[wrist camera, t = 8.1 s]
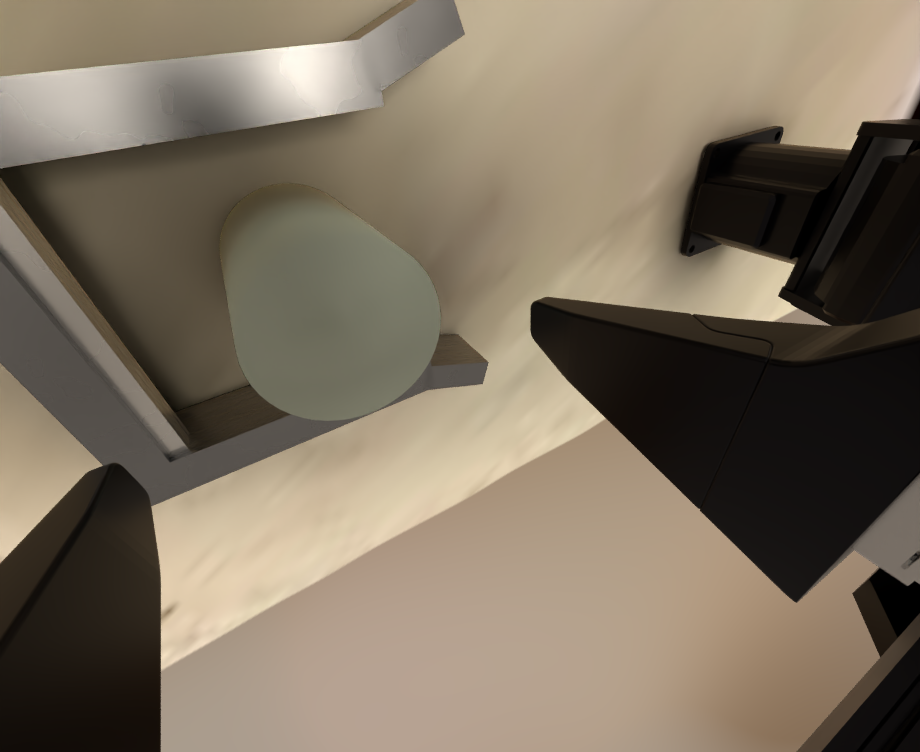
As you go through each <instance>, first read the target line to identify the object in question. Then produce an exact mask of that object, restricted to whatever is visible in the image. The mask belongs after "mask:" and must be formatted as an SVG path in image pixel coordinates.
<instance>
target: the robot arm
mask: <svg viewBox="0 0 920 752" xmlns="http://www.w3.org/2000/svg"><path fill="white" fill-rule="evenodd" d="M782 135H783V127H780V126H772V127H769V128H765V129H761V130H757V131H754V132H750V133H746V134H743V135H739V136H735V137H731V138H728V139H724V140H720V141H717V142H713V143H711V144H710V145H709V146H708V147H707V149H706V151H705V154H704V157H703V162H702V166H701V170H700V174H699V178H698V182H697V186H696V190H695V195H694V199H693V203H692V207H691V211H690V215H689V219H688V223H687V227H686V232H685V236H684V240H683V244H682V248H681V254H682V255H684V256H687V257H690V256H693V255H695V254H698V253H700V252H703V251H705V250H708V249H710V248H713V247H716V246H718V245H721V244H724V245H727V246H731V247H734V248H738V249H741V250H745V251H748V252H752V253H755V254H759V255H762V256H766V257H770V258H773V259H777V260H780V261H784V262H787V263H791V264H794V265H795V266H794V268H793V270H792V272H791V274H790V276H789V278H788V281H787V283H786V285H785V286H784V287H782V289H781V291H780V293H779V295H778V296H779V297H780V298H782V299H784V300H786V301H788V302H790V303H791V305H793V306H795V307H797V308H799V309H800V310H802V311H804V312H807V313H808V314H810V315H812V316H814V317H816V318H818V319H820V320H822V321H824V322H826V323H828V324H829V325H831V326H824V325H810V324H796V323H782V322H769V321H756V320H744V319H733V318H724V317H714V316H706V315H697V314H693V315H691V314H688V313H680V312H671V311H663V310H654V309H646V308H637V307H629V306H621V305H612V304H604V303H595V302H587V301H578V300H570V299H561V298H553V297H544V298H542V299H539V300H537V301H534V302H533V303H532V305H531V328H530V330H531V335H532V337H533V339H534V341H535V342H536V343H537V344H538V346H539V347H540V348H541V349H542V350H543V352H544V353H545V354H546V355H547V356H548V358H549V359H550V360H551V361H552V363H553V364H554V365H555V366H556V367H557V369H558V370H559V371H560V372H561V374H562V375H563V376H564V377H565V378H566V379H567V380H568V381H569V382H570V383H571V384H572V386H573V387H575V388H576V389H577V390H578V391H579V392H580V393H581V394H582V395H583V396H584V397H585V398H586V399H587V400H588V401H589V402H590V403H591V404H592V405H593V406H594V407H595V408H596V409H597V410H598V411H599V412H600V413H601V414H602V415H603V416H604V417H605V418H606V419H607V420H608V421H610V423H611V424H612V425H613V426H615V428H617V429H618V430H619V432H620V433H622V434H623V435H624V436H625V437H626V438H627V439H628V440H629V441H630V442H631V443H632V444H633V445H634V446H635V447H636V448H637V449H638V450H639V451H640V452H641V453H642V454H643V455H644V456H645V457H646V458H647V459H648V460H649V461H650V462H651V463H652V464H653V465H654V466H655V467H656V468H657V469H658V470H659V471H660V472H662V474H664V475H665V477H666V478H668V479H669V480H670V481H671V482H672V483H673V484H674V485H675V486H676V487H677V488H678V489H679V490H680V491H681V492H682V493H683V494H684V495H685V496H686V497H687V498H688V499H689V500H690V501H691V502H692V503H693V504H694V505H695V506H696V507H697V508H699V509H700V511H701V512H702V513H703V514H704V515H705V516H706V517H707V518H708V519H709V520H710V521H711V522H712V523H713V524H714V525H715V526H716V527H717V528H718V529H719V530H720V531H721V532H722V533H723V534H724V535H725V536H727V538H729V539H730V540H731V541H732V542H733V543H734V544H735V545H736V546H737V547H738V548H739V549H740V550H741V551H742V552H743V553H744V554H745V555H746V556H747V557H748V558H749V559H750V560H751V561H752V562H753V563H754V564H755V565H756V566H757V567H758V568H759V569H760V570H761V571H762V572H763V573H764V574H765V575H766V576H767V577H768V578H769V579H770V580H771V581H772V582H773V583H774V584H775V585H776V586H778V587H779V588H780V589H781V590H782V591H783V592H784V593H785V594H786V595H787V596H788V597H789V598H791V599H792V600H793V601H794V602H796V603H797V602H798V601H799V600H800V599H802V598H803V597H804V596H805V595H806V594H807V593H808V592H809V591H810V590H811V589H812V588H813V587H815V586H816V585H817V584H818V583H819V582H820V581H821V580H822V579H823V578H824V577H825V576H827V575H828V574H829V573H830V572H831V571H832V570H833V569H834V568H835V567H836V566H837V565H838V564H839V563H841V562H842V561H843V560H844V559H845V558H846V557H847V556H848V555H849V554H850V553H851V552H853V551H854V550H855V551H856V552H858V553H859V554H860V555H862V556H863V557H865V558H866V559H868V560H869V561H871V562H872V563H874V564H875V565H876V566H878V567H879V568H878V569H877V570H876V571H875V572H874V573H873V574H872V575H871V576H870V577H869V578H868V579H867V580H866V581H865V582H864V583H863V584H862V585H861V586H860V587H859V588H857V589H856V590H855V592H853V596H854V598H855V600H856V602H857V605H858V607H859V609H860V612H861V614H862V616H863V619H864V621H865V623H866V625H867V628H868V630H869V632H870V634H871V637H872V639H873V642H874V644H875V646H876V649H877V651H878V653H879V655H880V659H879V660H878V661H877V662H876V663H875V664H874V665H873V666H872V668H871V669H870V670H869V671H868V672H867V673H866V674H865V675H864V677H863V678H862V679H861V680H860V681H859V682H858V683H857V684H856V686H855V687H854V688H853V689H852V690H851V691H850V692H849V693H848V695H847V696H846V697H845V698H844V699H843V700H842V701H841V702H840V704H839V705H838V706H837V707H836V708H835V709H834V710H833V711H832V713H831V714H830V715H829V716H828V717H827V718H826V719H825V720H824V722H823V723H822V724H821V725H820V726H819V727H818V728H817V729H816V730H815V732H814V733H813V734H812V735H811V736H810V737H809V738H808V739H807V741H806V742H805V743H804V744H803V745H802V746H801V747H800V748H799V750H798V751H797V752H920V119H900V120H883V121H865V122H862V124H861V126H860V128H859V130H858V132H857V134H856V135H858V137H857V139H856V141H855V143H854V145H853V147H852V150H845V149H833V148H821V147H810V146H798V145H786V144H780V141H781V138H782ZM913 140H919V143H918V144H917V146H916V148H915V150H914V151H913V152H912V153H910V154H909V155H905V154H906V152H907V150H908V148H909V146H910V145H911V143H912V141H913ZM160 745H161V575H160V564H159V556H158V549H157V543H156V536H155V529H154V522H153V515H152V508H151V502H150V498H149V495H148V493H147V491H146V490H145V489H144V488H143V486H142V485H141V484H140V483H139V482H138V481H137V480H136V479H135V478H134V477H133V476H132V475H131V474H130V473H129V472H128V471H127V470H126V469H125V468H124V467H123V466H122V465H120V464H119V463H109V464H107V465H104V466H102V467H99V468H96V469H94V470H91V471H89V472H87V473H86V474H85V475H84V476H83V477H82V478H81V479H80V480H79V481H78V482H77V483H76V484H75V486H74V487H73V488H72V489H71V490H70V491H69V492H68V493H67V494H66V495H65V496H64V497H63V498H62V499H61V500H60V501H59V502H58V503H57V504H56V505H55V507H54V508H53V509H52V510H51V511H50V512H49V513H48V514H47V515H46V516H45V517H44V518H43V519H42V520H41V521H40V522H39V523H38V524H37V525H36V527H35V528H34V529H33V530H32V531H31V532H30V533H29V534H28V535H27V536H26V537H25V538H24V539H23V540H22V541H21V542H20V543H19V544H18V545H17V547H16V548H15V549H14V550H13V551H12V552H11V553H10V554H9V555H8V556H7V557H6V558H5V559H4V560H3V561H2V562H1V563H0V752H161V746H160Z"/></svg>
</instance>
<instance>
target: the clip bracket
mask: <svg viewBox="0 0 920 752" xmlns="http://www.w3.org/2000/svg"><path fill="white" fill-rule="evenodd" d="M464 34H465V33H464V30H463V27H462V24H461V21H460V18H459V14H458V11H457V8H456V5H455V2H454V0H404V1H402V2H401V3H399V4H398V5H396V6H394V7H393V8H391V9H390V10H388V11H387V12H385V13H384V14H382V15H381V16H379V17H378V18H376V19H375V20H373V21H372V22H370V23H369V24H367V25H366V26H364V27H363V28H361V29H360V30H358V31H357V32H355V33H354V34H352V35H350V36H349V37H347V38H346V39H344V40H343V41H341V42H332V43H322V44H313V45H303V46H293V47H283V48H274V49H264V50H254V51H244V52H235V53H225V54H215V55H205V56H196V57H186V58H176V59H166V60H157V61H147V62H137V63H127V64H117V65H108V66H98V67H88V68H78V69H69V70H59V71H49V72H39V73H30V74H20V75H10V76H0V168H6V167H13V166H19V165H25V164H31V163H37V162H44V161H50V160H56V159H62V158H68V157H74V156H81V155H87V154H93V153H99V152H105V151H111V150H118V149H124V148H130V147H136V146H142V145H149V144H155V143H161V142H167V141H173V140H179V139H186V138H192V137H198V136H204V135H210V134H216V133H223V132H229V131H235V130H241V129H247V128H253V127H260V126H266V125H272V124H278V123H284V122H291V121H297V120H303V119H309V118H315V117H321V116H328V115H334V114H340V113H346V112H352V111H358V110H365V109H371V108H377V107H383V106H384V102H383V96H382V90H384V89H385V88H387V87H388V86H390V85H391V84H393V83H394V82H395V81H397V80H398V79H400V78H401V77H403V76H404V75H406V74H407V73H409V72H410V71H412V70H413V69H415V68H416V67H417V66H419V65H420V64H422V63H423V62H425V61H426V60H428V59H429V58H431V57H432V56H434V55H435V54H437V53H438V52H440V51H441V50H442V49H444V48H445V47H447V46H448V45H450V44H451V43H453V42H454V41H456V40H457V39H459V38H460V37H462V36H463V35H464ZM0 363H1V364H2V365H3V366H4V367H5V368H6V369H7V370H8V371H9V372H10V373H11V374H12V375H13V376H14V377H15V378H16V379H17V380H18V381H19V382H20V383H21V384H22V385H23V386H24V387H25V388H26V389H27V390H28V391H29V392H30V393H31V394H32V395H33V396H34V397H35V398H36V399H37V400H38V401H39V402H40V403H41V404H42V405H43V406H44V407H45V408H46V409H47V410H48V411H49V412H50V413H51V414H52V415H53V416H54V417H55V418H56V419H57V420H58V421H59V422H60V423H61V424H62V425H63V426H64V427H65V428H66V429H67V430H68V431H69V432H70V433H71V434H72V435H73V436H74V437H75V438H76V439H77V440H78V441H79V442H80V443H81V444H82V445H83V446H84V447H85V448H86V449H87V450H88V451H89V452H90V453H91V454H92V455H93V456H94V457H95V458H96V459H97V460H98V461H99V462H100V463H101V464H102V465H103V466H104V465H107V464H109V463H119V464H120V465H122V466H123V467H124V468H125V469H126V470H127V471H128V472H129V473H130V474H131V475H132V476H133V477H134V478H135V479H136V480H137V481H138V482H139V483H140V484H141V485H142V486H143V488H144V489H145V490H146V491H147V493H148V495H149V498H150V502H151V506H153V505H156V504H158V503H160V502H163V501H165V500H167V499H170V498H172V497H175V496H177V495H179V494H182V493H184V492H186V491H189V490H191V489H194V488H196V487H198V486H201V485H203V484H205V483H208V482H210V481H212V480H215V479H217V478H220V477H222V476H224V475H227V474H229V473H231V472H234V471H236V470H239V469H241V468H243V467H246V466H248V465H250V464H253V463H255V462H258V461H260V460H262V459H265V458H267V457H269V456H272V455H274V454H277V453H279V452H281V451H284V450H286V449H288V448H291V447H293V446H296V445H298V444H300V443H303V442H305V441H307V440H310V439H312V438H315V437H317V436H319V435H322V434H324V433H326V432H329V431H331V430H334V429H336V428H338V427H341V426H343V425H345V424H348V423H350V422H353V421H355V420H357V419H360V418H362V417H364V416H367V415H369V414H372V413H374V412H376V411H379V410H381V409H383V408H386V407H388V406H391V405H393V404H395V403H398V402H400V401H402V400H405V399H407V398H410V397H412V396H414V395H417V394H419V393H421V392H424V391H426V390H431V389H441V388H450V387H459V386H469V385H478V384H483V381H484V377H485V373H486V370H487V366H488V361H487V360H486V359H484V358H483V357H482V356H481V355H480V354H479V353H478V352H477V351H476V350H475V349H473V348H472V347H471V346H470V345H469V344H468V343H467V342H466V341H465V340H463V339H462V338H461V337H460V336H459V335H439V339H438V342H437V345H436V349H435V351H434V353H433V356H432V358H431V360H430V362H429V364H428V365H427V367H426V369H425V370H424V372H423V373H422V374H421V376H420V377H419V378H418V379H417V381H416V382H415V383H414V384H413V385H412V386H411V387H410V388H409V389H408V390H407V391H406V392H405V393H403V394H402V395H401V396H400V397H398V398H397V399H395V400H394V401H393V402H391V403H389V404H388V405H386V406H384V407H382V408H380V409H378V410H376V411H374V412H371V413H368V414H366V415H363V416H359V417H355V418H351V419H345V420H335V421H322V420H312V419H306V418H301V417H298V416H295V415H291V414H289V413H287V412H285V411H282V410H280V409H278V408H277V407H275V406H274V405H272V404H270V403H269V402H268V401H266V400H265V399H264V398H263V397H261V396H260V395H259V394H258V393H257V391H256V390H255V389H254V388H253V387H252V386H251V385H249V386H246V387H243V388H241V389H238V390H235V391H232V392H229V393H227V394H224V395H221V396H218V397H216V398H213V399H210V400H207V401H204V402H202V403H199V404H196V405H193V406H191V407H188V408H185V409H182V410H179V411H177V412H174V411H173V410H172V409H171V407H170V406H169V405H168V403H167V402H166V401H165V399H164V398H163V396H162V395H161V394H160V392H159V391H158V390H157V388H156V387H155V386H154V384H153V383H152V382H151V380H150V379H149V378H148V376H147V375H146V374H145V372H144V371H143V369H142V368H141V367H140V365H139V364H138V363H137V361H136V360H135V359H134V357H133V356H132V355H131V353H130V352H129V351H128V349H127V348H126V347H125V345H124V344H123V343H122V341H121V340H120V338H119V337H118V336H117V334H116V333H115V332H114V330H113V329H112V328H111V326H110V325H109V324H108V322H107V321H106V320H105V318H104V317H103V316H102V314H101V313H100V311H99V310H98V309H97V307H96V306H95V305H94V303H93V302H92V301H91V299H90V298H89V297H88V295H87V294H86V293H85V291H84V290H83V289H82V287H81V286H80V284H79V283H78V282H77V280H76V279H75V278H74V276H73V275H72V274H71V272H70V271H69V270H68V268H67V267H66V266H65V264H64V263H63V262H62V260H61V259H60V258H59V256H58V255H57V253H56V252H55V251H54V249H53V248H52V247H51V245H50V244H49V243H48V241H47V240H46V239H45V237H44V236H43V235H42V233H41V232H40V231H39V229H38V228H37V226H36V225H35V224H34V222H33V221H32V220H31V218H30V217H29V216H28V214H27V213H26V212H25V210H24V209H23V208H22V206H21V205H20V204H19V202H18V201H17V200H16V198H15V197H14V195H13V194H12V193H11V191H10V190H9V189H8V187H7V186H6V185H5V183H4V182H3V181H2V179H1V178H0Z"/></svg>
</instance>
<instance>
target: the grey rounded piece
mask: <svg viewBox="0 0 920 752" xmlns="http://www.w3.org/2000/svg"><path fill="white" fill-rule="evenodd" d="M219 251H220V260H221V266H222V272H223V278H224V284H225V290H226V296H227V302H228V308H229V314H230V320H231V326H232V332H233V338H234V345H235V350H236V354H237V358H238V362H239V365H240V367H241V369H242V371H243V373H244V375H245V377H246V378H247V380H248V382H249V383H250V385H251V386H252V387H253V388H254V389H255V390H256V391H257V393H258V394H259V395H260V396H261V397H263V398H264V399H265V400H266V401H268V402H269V403H270V404H272V405H274V406H275V407H277V408H278V409H280V410H282V411H285V412H287V413H289V414H291V415H295V416H298V417H301V418H306V419H312V420H322V421H335V420H345V419H351V418H355V417H359V416H363V415H366V414H368V413H371V412H374V411H376V410H378V409H380V408H382V407H384V406H386V405H388V404H389V403H391V402H393V401H394V400H395V399H397V398H398V397H400V396H401V395H402V394H403V393H405V392H406V391H407V390H408V389H409V388H410V387H411V386H412V385H413V384H414V383H415V382H416V381H417V379H418V378H419V377H420V376H421V374H422V373H423V372H424V370H425V369H426V367H427V365H428V364H429V362H430V360H431V358H432V356H433V353H434V351H435V349H436V345H437V342H438V339H439V333H440V325H441V313H440V304H439V300H438V295H437V293H436V290H435V287H434V285H433V283H432V281H431V279H430V277H429V275H428V274H427V273H426V271H425V270H424V269H423V267H422V266H421V265H420V264H419V263H418V262H417V261H416V260H415V259H414V258H413V257H412V256H411V255H409V254H408V253H407V252H405V251H404V250H403V249H401V248H400V247H399V246H397V245H396V244H395V243H393V242H392V241H391V240H389V239H388V238H387V237H385V236H384V235H383V234H381V233H380V232H378V231H377V230H376V229H374V228H373V227H372V226H370V225H369V224H368V223H366V222H365V221H364V220H362V219H361V218H360V217H358V216H357V215H356V214H354V213H353V212H351V211H350V210H349V209H347V208H346V207H345V206H343V205H342V204H341V203H339V202H338V201H337V200H335V199H334V198H333V197H331V196H330V195H328V194H326V193H324V192H322V191H320V190H318V189H315V188H313V187H309V186H305V185H300V184H293V183H282V184H275V185H270V186H266V187H263V188H260V189H258V190H256V191H254V192H252V193H250V194H249V195H247V196H246V197H244V198H243V199H242V200H241V201H240V202H239V203H237V204H236V206H235V207H234V208H233V209H232V211H231V212H230V213H229V215H228V217H227V219H226V220H225V223H224V225H223V228H222V231H221V236H220V245H219Z"/></svg>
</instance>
